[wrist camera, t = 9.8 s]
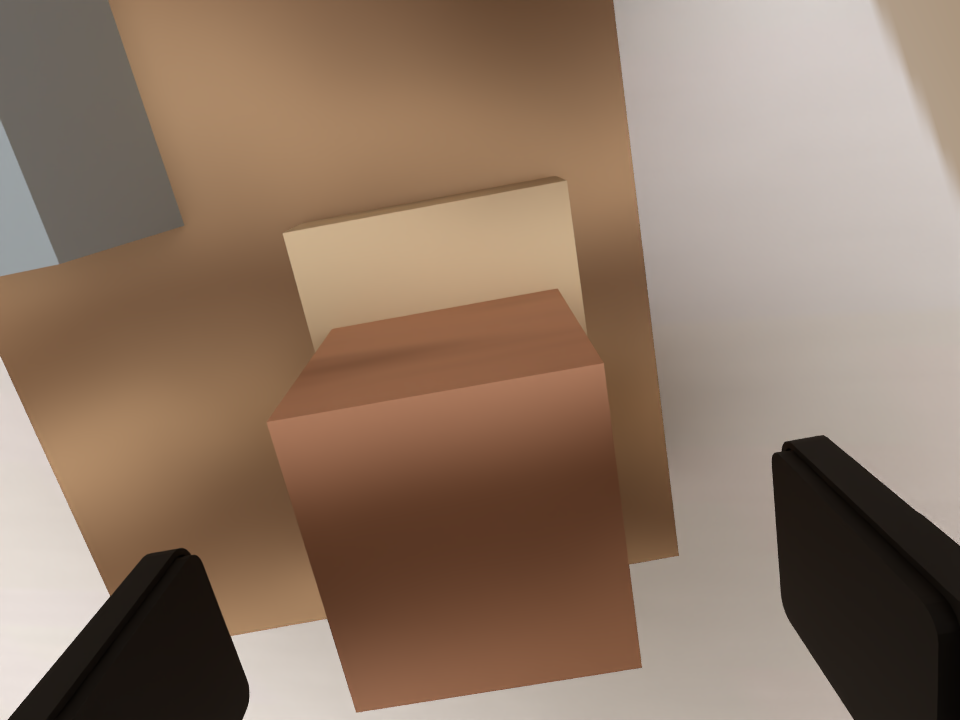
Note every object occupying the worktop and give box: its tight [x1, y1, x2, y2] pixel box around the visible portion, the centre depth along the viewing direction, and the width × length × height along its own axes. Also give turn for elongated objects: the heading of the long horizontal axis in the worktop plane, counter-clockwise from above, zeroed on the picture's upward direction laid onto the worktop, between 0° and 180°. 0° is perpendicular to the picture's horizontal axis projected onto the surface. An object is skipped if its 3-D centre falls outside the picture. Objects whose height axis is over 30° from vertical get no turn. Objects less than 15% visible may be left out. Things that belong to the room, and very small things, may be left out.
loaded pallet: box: [267, 176, 642, 712], centre depth 14 cm, size 10×6×7 cm, turn 10°
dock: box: [0, 0, 679, 636], centre depth 18 cm, size 18×16×4 cm
